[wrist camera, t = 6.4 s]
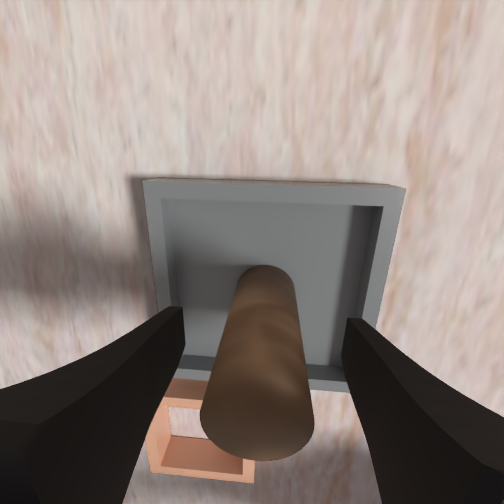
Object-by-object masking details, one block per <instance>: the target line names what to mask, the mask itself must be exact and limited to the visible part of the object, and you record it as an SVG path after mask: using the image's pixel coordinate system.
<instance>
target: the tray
mask: <svg viewBox="0 0 504 504" xmlns="http://www.w3.org/2000/svg"><path fill="white" fill-rule="evenodd" d="M142 182H143V190H144V199H145V207H146V216H147V224H148V232H149V241H150V249H151V258H152V266H153V275H154V283H155V292H156V300H157V308H158V313H159V312H161V311H162V310H164V309H165V308H167V307H169V306H176V307H183V317H184V329H185V342H186V345H185V348H184V351H183V354H182V357H181V360H180V363H179V366H178V368H177V370H176V372H175V374H174V376H173V378H179V379H191V380H203V381H209V378H210V375H211V371H212V368H213V364H214V361H215V357H216V354H217V351H218V347H219V344H220V340H221V337H222V334H223V330H224V327H225V323H226V320H227V317H228V313H229V310H230V306H231V303H232V300H233V296H234V293H235V289H236V286H237V283H238V280H239V278H240V277H241V275H242V274H243V273H244V272H245V271H247V270H248V269H250V268H252V267H254V266H258V265H272V266H275V267H278V268H280V269H282V270H283V271H285V272H286V273H287V274H288V275H289V276H290V278H291V279H292V281H293V283H294V287H295V293H296V300H297V307H298V314H299V320H300V327H301V334H302V341H303V348H304V354H305V361H306V368H307V375H308V381H309V388H310V389H311V390H323V391H335V392H347V393H350V391H349V388H348V385H347V382H346V379H345V374H344V370H343V365H342V360H341V351H342V345H343V340H344V334H345V328H346V322H347V317H348V318H362V319H363V320H365V321H366V322H367V323H368V324H370V325H371V326H372V327H373V328H374V329H375V328H376V324H377V319H378V315H379V310H380V305H381V301H382V296H383V292H384V287H385V283H386V278H387V274H388V269H389V264H390V260H391V255H392V251H393V246H394V242H395V237H396V233H397V228H398V223H399V219H400V214H401V210H402V205H403V201H404V196H405V191H406V189H405V188H401V187H397V186H393V185H388V184H355V183H321V182H288V181H255V180H221V179H188V178H154V179H148V180H143V181H142Z"/></svg>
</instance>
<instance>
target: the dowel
mask: <svg viewBox="0 0 504 504" xmlns="http://www.w3.org/2000/svg"><path fill="white" fill-rule="evenodd" d="M200 422H201V426H202V428H203V430H204V432H205V434H206V435H207V437H208V438H209V439H210V440H211V441H212V442H213V443H214V444H215V445H216V446H217V447H219V448H220V449H222V450H223V451H225V452H227V453H229V454H231V455H234V456H236V457H239V458H243V459H247V460H254V461H272V460H278V459H282V458H286V457H288V456H291V455H293V454H295V453H296V452H298V451H299V450H301V449H302V448H303V447H304V446H305V445H306V444H307V443H308V442H309V440H310V438H311V437H312V434H313V431H314V415H313V408H312V402H311V395H310V388H309V381H308V375H307V368H306V361H305V354H304V348H303V341H302V334H301V327H300V320H299V314H298V307H297V300H296V293H295V287H294V283H293V281H292V279H291V278H290V276H289V275H288V274H287V273H286V272H285V271H283V270H282V269H280V268H278V267H275V266H272V265H258V266H254V267H252V268H250V269H248V270H247V271H245V272H244V273H243V274H242V275H241V277H240V278H239V280H238V283H237V286H236V289H235V293H234V296H233V300H232V303H231V306H230V310H229V313H228V317H227V320H226V323H225V327H224V330H223V334H222V337H221V340H220V344H219V347H218V351H217V354H216V357H215V361H214V364H213V368H212V371H211V375H210V378H209V381H208V385H207V388H206V392H205V395H204V398H203V402H202V405H201V409H200Z"/></svg>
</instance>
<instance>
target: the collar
mask: <svg viewBox="0 0 504 504" xmlns="http://www.w3.org/2000/svg"><path fill="white" fill-rule="evenodd" d="M207 385H208V381H203V380H191V379H179V378H173V379H172V381H171V383H170V385H169V387H168V389H167V391H166V393H165V395H164V397H163V399H162V401H161V403H160V405H159V407H158V409H157V411H156V413H155V416H154V418H153V420H152V422H151V425H150V427H149V430H148V433H147V435H146V438H145V442H146V448H147V454H148V460H149V465H150V471H151V472H153V473H162V474H171V475H180V476H190V477H199V478H208V479H217V480H226V481H236V482H245V483H254V472H255V461H254V460H247V459H243V458H239V457H236V456H234V455H231V454H229V453H227V452H225V451H223V450H222V449H220V448H219V447H217V446H216V445H215V444H214V443H213V442H212V441H211V440H207V439H197V438H187V437H177V436H171V429H170V421H169V412H168V407H178V408H189V409H201V405H202V402H203V398H204V395H205V392H206V388H207Z"/></svg>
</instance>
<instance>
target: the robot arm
mask: <svg viewBox="0 0 504 504" xmlns="http://www.w3.org/2000/svg"><path fill="white" fill-rule="evenodd" d="M185 345H186V342H185V329H184V317H183V307H176V306H169V307H167V308H165V309H164V310H162V311H161V312H159V313H158V314H156V315H155V316H153V317H152V318H150V319H149V320H147V321H146V322H144V323H143V324H141V325H140V326H138V327H137V328H135V329H134V330H132V331H130V332H129V333H127V334H125V335H124V336H122V337H120V338H119V339H117V340H115V341H114V342H112V343H110V344H109V345H107V346H105V347H103V348H101V349H99V350H97V351H95V352H93V353H91V354H89V355H87V356H85V357H83V358H81V359H79V360H77V361H74V362H72V363H70V364H67V365H65V366H63V367H60V368H58V369H56V370H53V371H51V372H48V373H46V374H43V375H40V376H38V377H35V378H32V379H30V380H27V381H24V382H21V383H18V384H15V385H12V386H9V387H6V388H3V389H0V504H122V503H123V500H124V497H125V494H126V491H127V488H128V485H129V482H130V479H131V476H132V474H133V471H134V468H135V465H136V462H137V459H138V457H139V454H140V451H141V448H142V446H143V443H144V440H145V438H146V435H147V433H148V430H149V427H150V425H151V422H152V420H153V418H154V416H155V413H156V411H157V409H158V407H159V405H160V403H161V401H162V399H163V397H164V395H165V393H166V391H167V389H168V387H169V385H170V383H171V381H172V379H173V376H174V374H175V372H176V370H177V368H178V366H179V363H180V360H181V357H182V354H183V351H184V348H185ZM341 360H342V365H343V370H344V374H345V379H346V382H347V385H348V388H349V391H350V394H351V397H352V399H353V402H354V405H355V408H356V411H357V414H358V416H359V419H360V422H361V425H362V428H363V431H364V434H365V437H366V440H367V443H368V447H369V451H370V455H371V459H372V463H373V467H374V471H375V475H376V479H377V483H378V488H379V492H380V496H381V501H382V504H504V417H502V416H500V415H499V414H497V413H495V412H493V411H491V410H489V409H487V408H486V407H484V406H482V405H480V404H479V403H477V402H475V401H473V400H472V399H470V398H468V397H467V396H465V395H463V394H461V393H460V392H458V391H457V390H455V389H453V388H452V387H450V386H449V385H447V384H446V383H444V382H443V381H441V380H440V379H438V378H437V377H435V376H434V375H432V374H431V373H429V372H428V371H426V370H425V369H424V368H422V367H421V366H420V365H418V364H417V363H416V362H414V361H413V360H412V359H410V358H409V357H408V356H406V355H405V354H404V353H403V352H401V351H400V350H399V349H398V348H396V347H395V346H394V345H393V344H392V343H390V342H389V341H388V340H387V339H386V338H385V337H383V336H382V335H381V334H380V333H379V332H378V331H377V330H375V329H374V328H373V327H372V326H371V325H370V324H368V323H367V322H366V321H365V320H363V319H362V318H348V317H347V322H346V328H345V334H344V340H343V345H342V351H341Z"/></svg>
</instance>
